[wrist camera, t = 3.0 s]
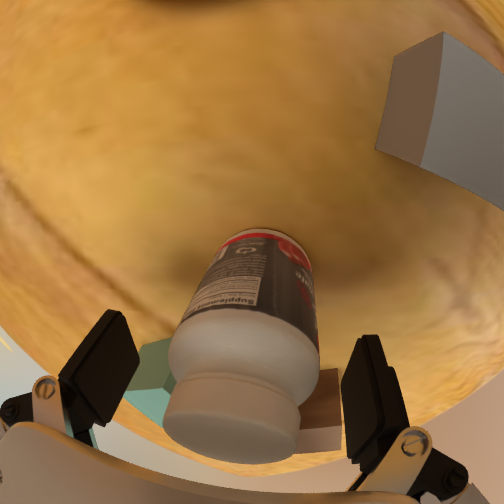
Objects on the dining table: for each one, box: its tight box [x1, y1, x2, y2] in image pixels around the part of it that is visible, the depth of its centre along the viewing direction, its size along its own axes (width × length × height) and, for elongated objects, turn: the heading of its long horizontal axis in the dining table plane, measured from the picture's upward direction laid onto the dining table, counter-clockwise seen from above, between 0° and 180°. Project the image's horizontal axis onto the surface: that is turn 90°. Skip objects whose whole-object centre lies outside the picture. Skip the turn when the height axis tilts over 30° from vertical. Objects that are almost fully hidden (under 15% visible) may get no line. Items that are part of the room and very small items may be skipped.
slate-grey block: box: [375, 31, 504, 211], centre depth 8 cm, size 5×5×5 cm
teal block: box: [123, 337, 177, 428], centre depth 18 cm, size 5×5×5 cm
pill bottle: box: [162, 229, 320, 464], centre depth 11 cm, size 5×5×10 cm
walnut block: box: [294, 368, 342, 454], centre depth 17 cm, size 5×5×5 cm
